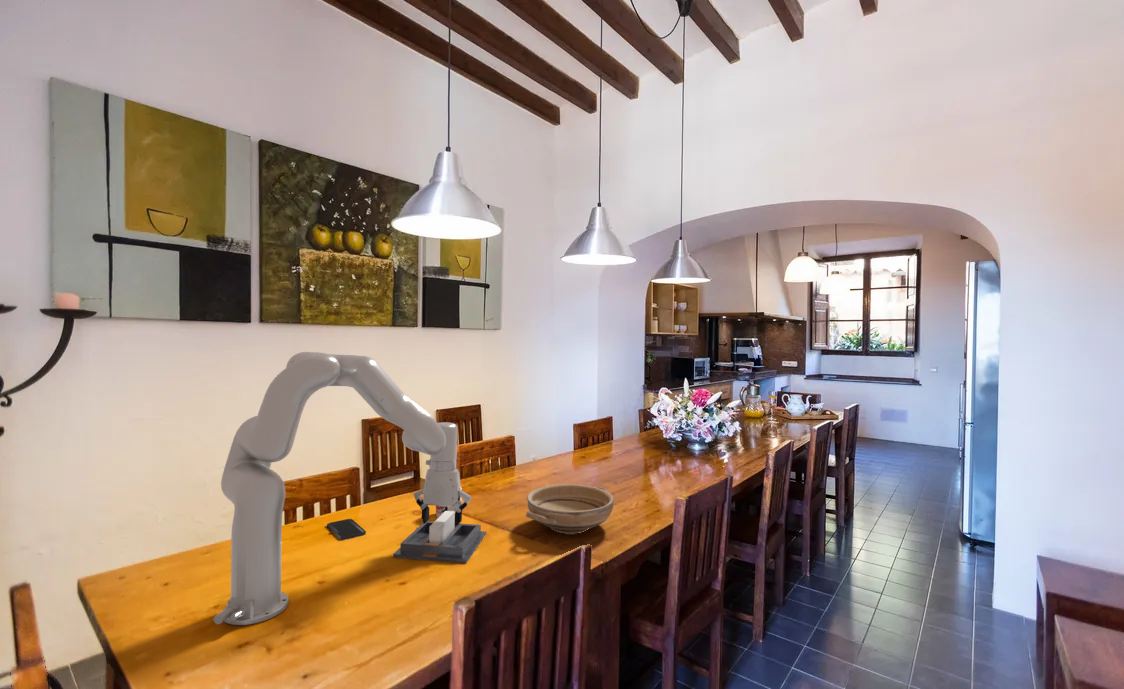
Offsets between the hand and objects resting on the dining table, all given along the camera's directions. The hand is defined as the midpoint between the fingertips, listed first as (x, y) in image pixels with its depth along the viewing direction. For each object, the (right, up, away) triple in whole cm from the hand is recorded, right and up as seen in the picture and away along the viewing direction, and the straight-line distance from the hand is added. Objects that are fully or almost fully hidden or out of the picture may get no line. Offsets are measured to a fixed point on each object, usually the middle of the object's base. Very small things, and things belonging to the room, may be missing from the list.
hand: (441, 523), depth 147 cm
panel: (0, -6, 0) cm, 6 cm away
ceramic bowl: (+38, -8, +17) cm, 42 cm away
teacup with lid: (-3, -7, +25) cm, 26 cm away
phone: (-33, -7, +11) cm, 35 cm away
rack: (0, -7, 0) cm, 7 cm away
